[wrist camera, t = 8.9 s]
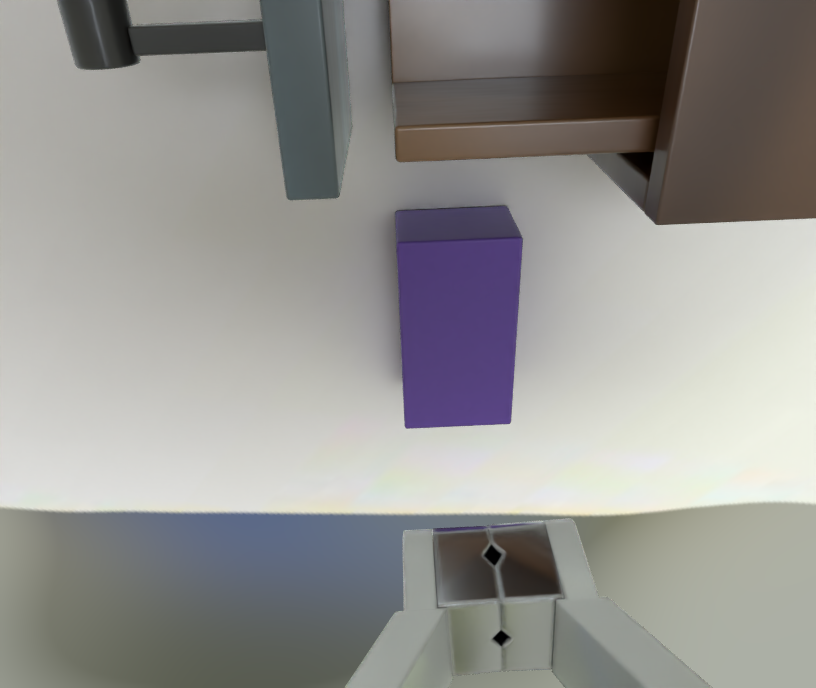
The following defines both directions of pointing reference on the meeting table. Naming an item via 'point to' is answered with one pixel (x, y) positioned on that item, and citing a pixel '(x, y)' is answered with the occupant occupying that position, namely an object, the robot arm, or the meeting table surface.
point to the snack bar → (458, 314)
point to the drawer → (430, 75)
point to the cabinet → (731, 118)
